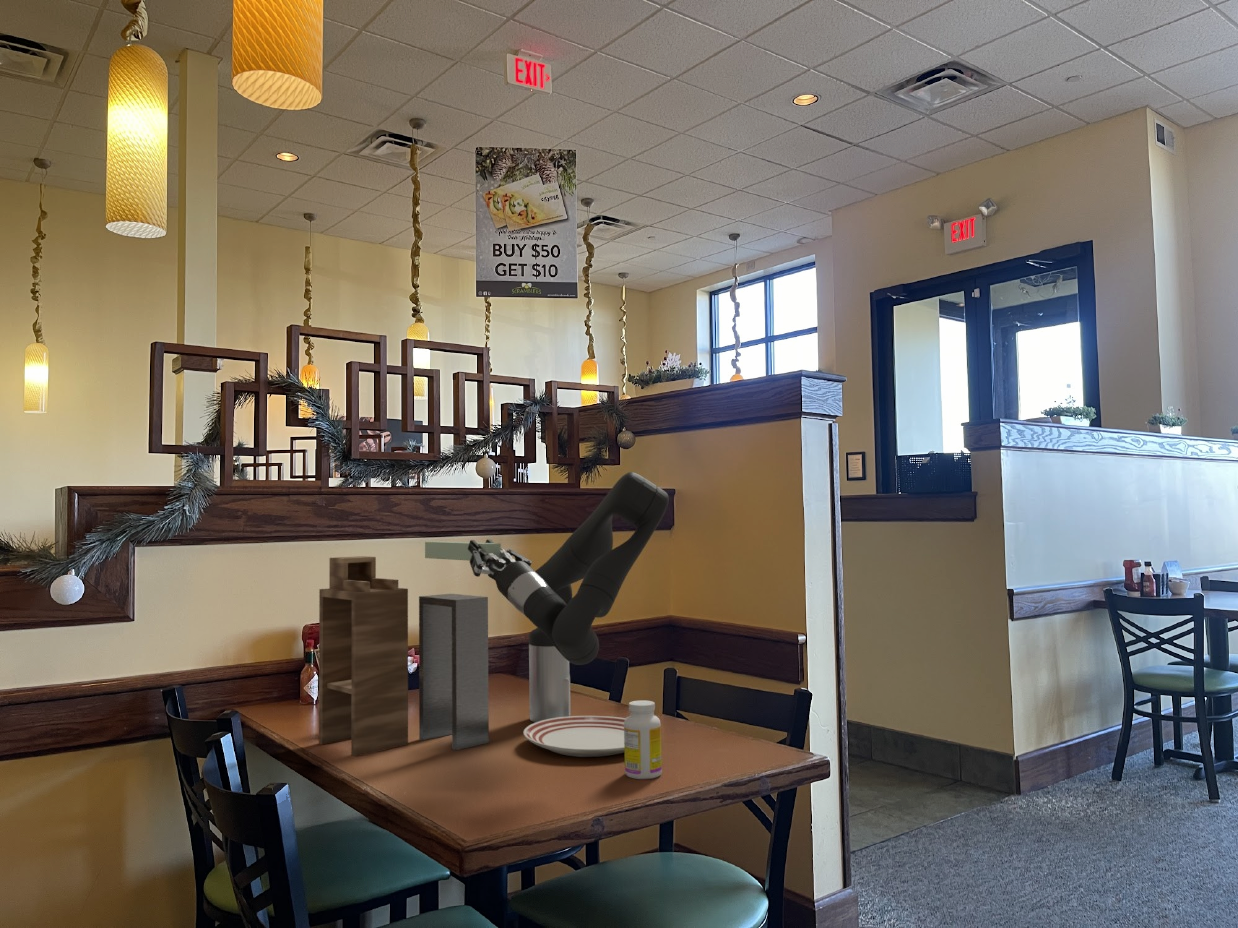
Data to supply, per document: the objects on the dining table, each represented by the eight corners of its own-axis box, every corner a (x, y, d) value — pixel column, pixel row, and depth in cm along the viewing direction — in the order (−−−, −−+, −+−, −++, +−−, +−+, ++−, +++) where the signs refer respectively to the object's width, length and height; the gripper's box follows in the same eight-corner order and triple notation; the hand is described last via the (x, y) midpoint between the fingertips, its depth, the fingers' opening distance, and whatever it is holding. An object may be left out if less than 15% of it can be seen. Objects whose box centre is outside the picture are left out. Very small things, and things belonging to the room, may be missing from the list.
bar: (500, 560, 182) (500, 543, 182) (486, 561, 179) (486, 543, 180) (438, 557, 197) (438, 541, 198) (425, 558, 195) (425, 541, 195)
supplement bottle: (660, 769, 166) (659, 698, 166) (663, 779, 159) (662, 706, 160) (623, 770, 165) (622, 699, 166) (625, 780, 159) (624, 706, 159)
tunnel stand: (408, 744, 186) (407, 557, 188) (355, 756, 178) (355, 560, 180) (370, 732, 197) (370, 555, 199) (318, 743, 188) (319, 558, 190)
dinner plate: (670, 733, 194) (670, 717, 194) (639, 768, 167) (639, 750, 167) (550, 726, 201) (550, 711, 201) (502, 759, 175) (501, 741, 175)
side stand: (488, 742, 187) (487, 596, 188) (456, 750, 181) (456, 599, 183) (450, 732, 196) (450, 593, 198) (419, 739, 190) (419, 596, 192)
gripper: (559, 570, 177) (511, 526, 188) (501, 574, 167) (454, 528, 178) (547, 602, 179) (500, 557, 190) (489, 608, 169) (444, 560, 180)
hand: (478, 543), depth 184 cm, fingers closed on bar, 3 cm apart
